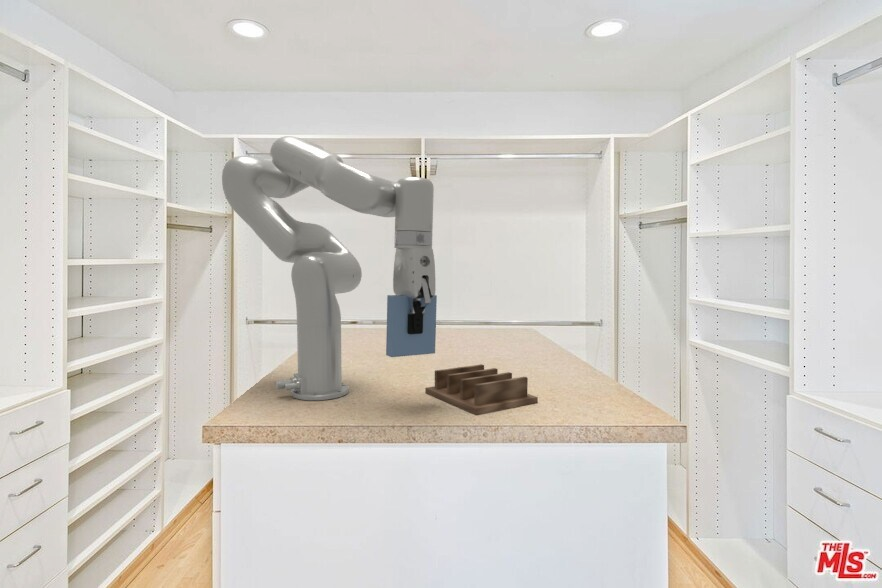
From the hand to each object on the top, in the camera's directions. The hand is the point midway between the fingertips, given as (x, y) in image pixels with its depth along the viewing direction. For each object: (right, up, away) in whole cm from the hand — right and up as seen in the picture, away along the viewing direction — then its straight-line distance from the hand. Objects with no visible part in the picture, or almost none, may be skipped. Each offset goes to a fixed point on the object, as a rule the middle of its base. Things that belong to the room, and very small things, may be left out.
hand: (411, 331), depth 99 cm
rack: (+14, -15, +7) cm, 22 cm away
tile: (0, -5, 0) cm, 5 cm away
